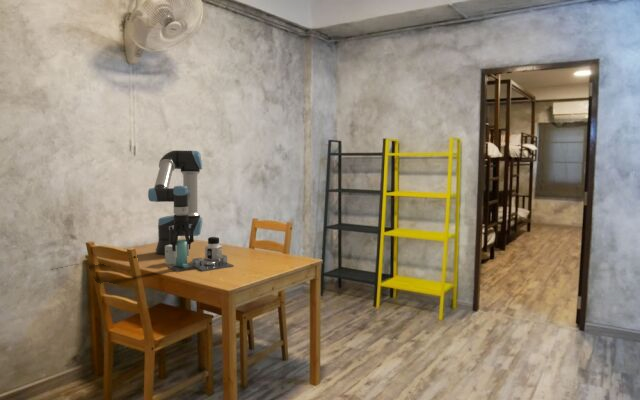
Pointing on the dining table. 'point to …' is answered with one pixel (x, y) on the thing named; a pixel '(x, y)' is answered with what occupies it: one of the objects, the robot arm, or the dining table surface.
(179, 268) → the mat
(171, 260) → the small box
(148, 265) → the dining table surface
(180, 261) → the teal tall rounded piece
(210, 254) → the container
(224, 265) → the bayonet base
